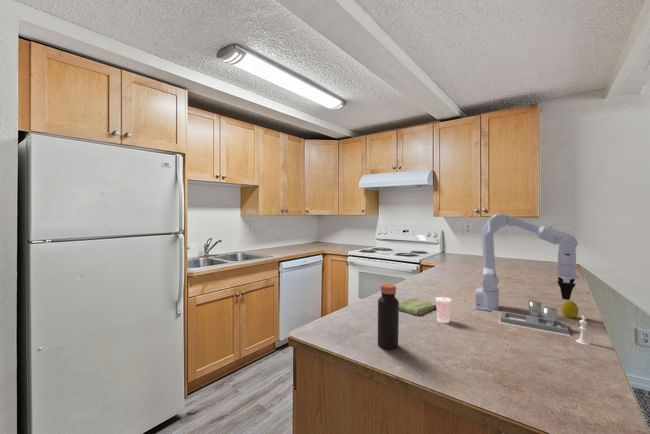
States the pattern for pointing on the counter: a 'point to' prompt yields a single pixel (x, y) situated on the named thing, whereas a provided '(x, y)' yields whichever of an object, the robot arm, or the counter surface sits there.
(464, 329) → the counter surface
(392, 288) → the bottle
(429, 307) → the washcloth
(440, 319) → the beverage cup
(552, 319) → the cylinder
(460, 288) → the counter surface
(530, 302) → the cylinder
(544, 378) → the counter surface
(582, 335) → the chess piece
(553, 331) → the grey rectangular tray
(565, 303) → the lemon
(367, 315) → the counter surface
